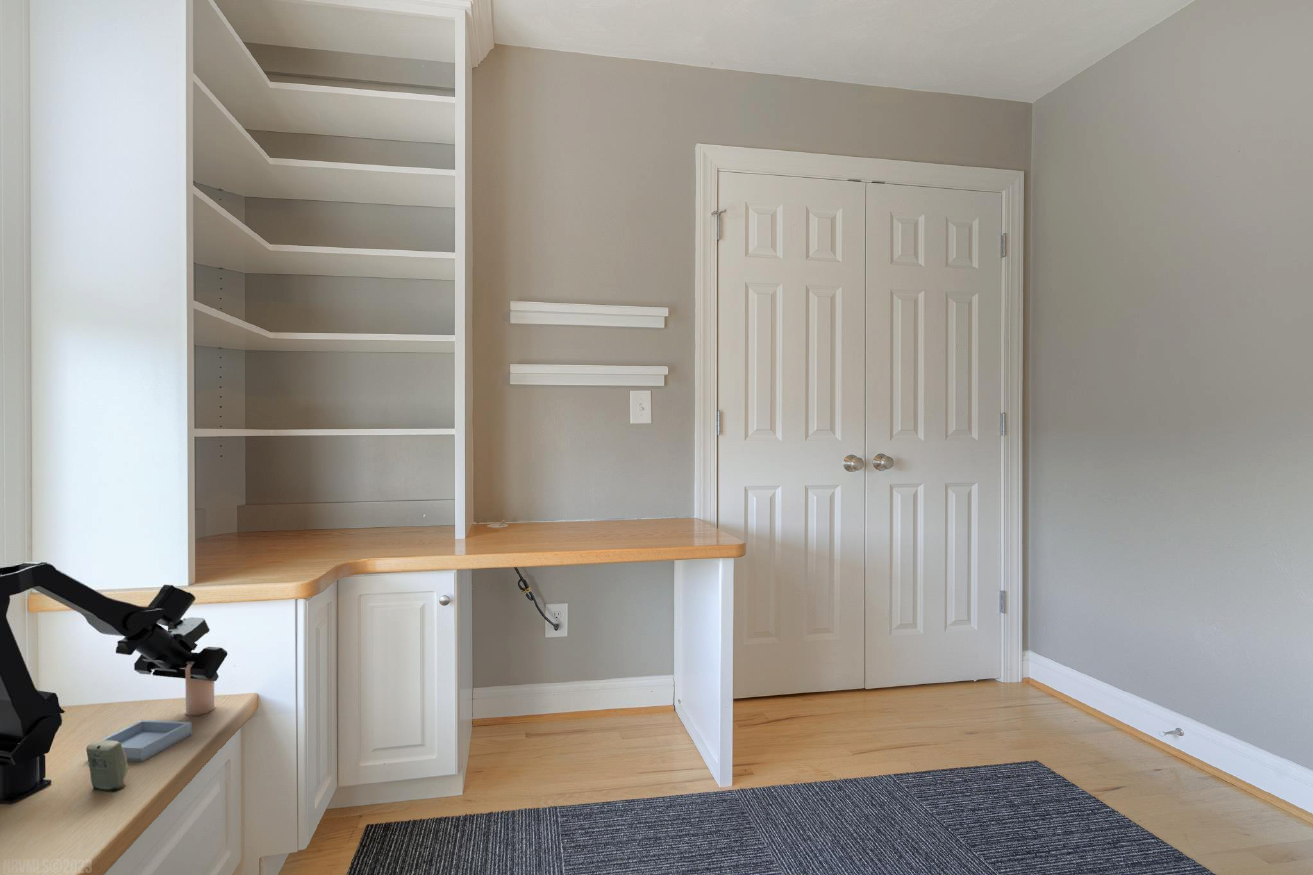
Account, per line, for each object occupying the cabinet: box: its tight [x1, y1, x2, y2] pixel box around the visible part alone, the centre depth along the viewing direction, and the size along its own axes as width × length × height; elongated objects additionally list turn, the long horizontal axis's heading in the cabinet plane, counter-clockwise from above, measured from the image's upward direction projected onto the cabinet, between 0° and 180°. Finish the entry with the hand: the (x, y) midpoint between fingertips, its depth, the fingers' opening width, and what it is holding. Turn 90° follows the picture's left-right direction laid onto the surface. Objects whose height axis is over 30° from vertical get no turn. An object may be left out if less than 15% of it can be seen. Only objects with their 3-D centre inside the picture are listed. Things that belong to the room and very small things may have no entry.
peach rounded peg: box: [184, 664, 216, 716], centre depth 141 cm, size 5×5×11 cm
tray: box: [98, 719, 192, 763], centre depth 125 cm, size 11×11×2 cm
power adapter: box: [86, 740, 129, 792], centre depth 110 cm, size 6×5×8 cm
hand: (205, 677), depth 143 cm, fingers open, 6 cm apart
